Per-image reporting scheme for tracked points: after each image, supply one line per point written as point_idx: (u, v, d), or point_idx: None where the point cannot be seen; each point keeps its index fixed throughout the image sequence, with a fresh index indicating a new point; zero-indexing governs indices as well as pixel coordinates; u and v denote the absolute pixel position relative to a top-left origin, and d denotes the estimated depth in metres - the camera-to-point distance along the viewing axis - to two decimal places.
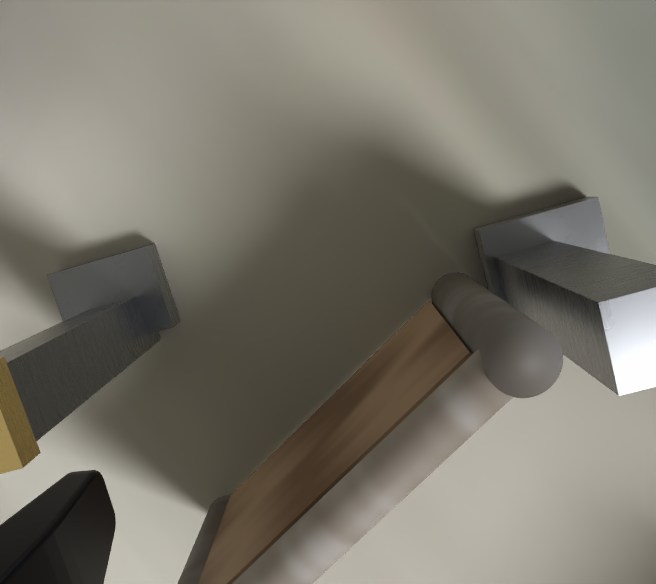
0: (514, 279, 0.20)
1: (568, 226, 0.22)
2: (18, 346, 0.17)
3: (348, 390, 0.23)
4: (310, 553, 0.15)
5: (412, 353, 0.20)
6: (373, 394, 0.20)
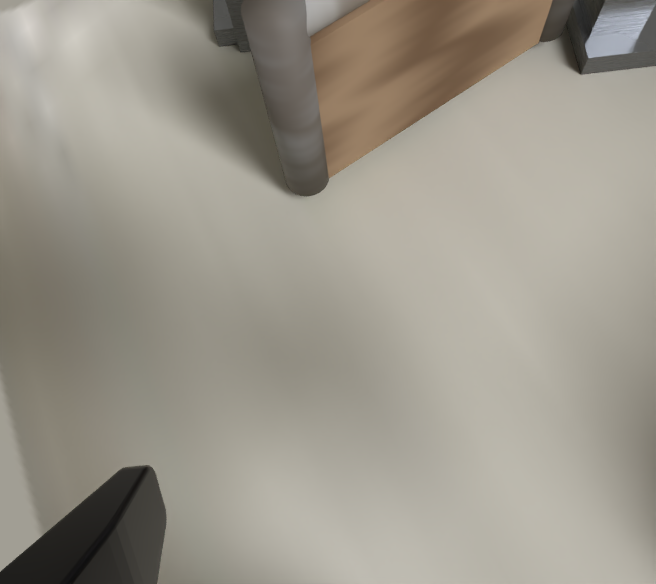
0: None
1: None
2: None
3: None
4: None
5: None
6: None
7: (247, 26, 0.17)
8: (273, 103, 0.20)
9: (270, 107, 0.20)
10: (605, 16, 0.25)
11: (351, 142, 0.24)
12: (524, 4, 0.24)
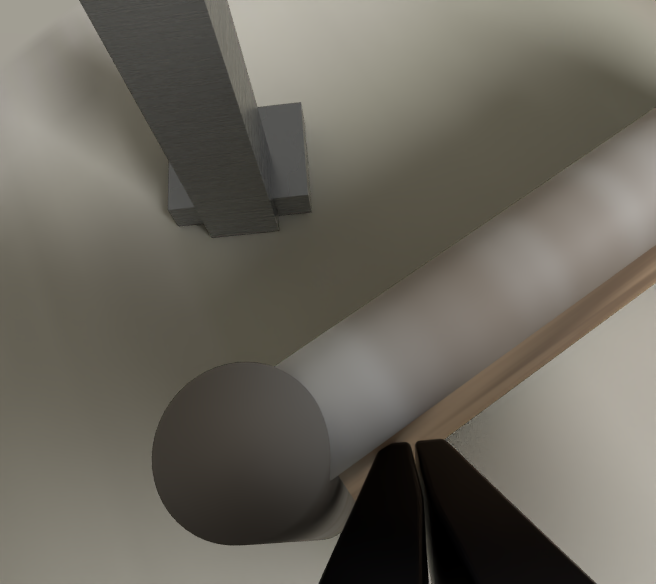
0: None
1: None
2: None
3: None
4: (636, 158, 0.07)
5: None
6: None
7: (168, 507, 0.06)
8: None
9: None
10: None
11: None
12: None
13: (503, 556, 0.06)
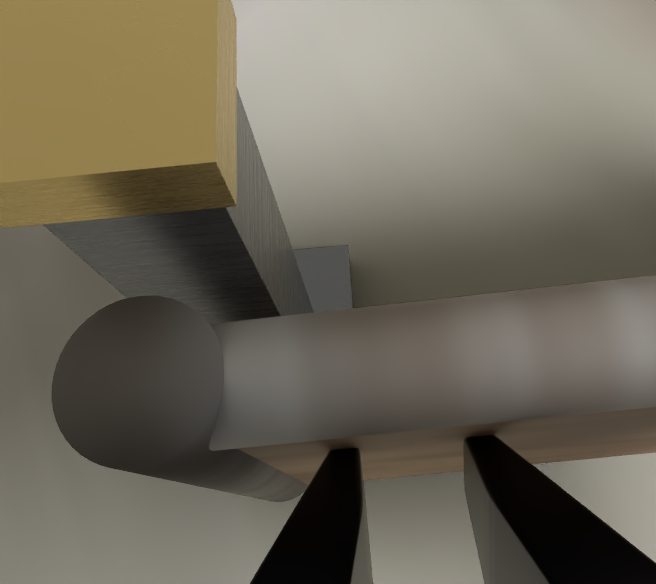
0: None
1: None
2: None
3: None
4: None
5: None
6: None
7: (56, 393, 0.06)
8: None
9: None
10: None
11: None
12: None
13: (575, 550, 0.06)
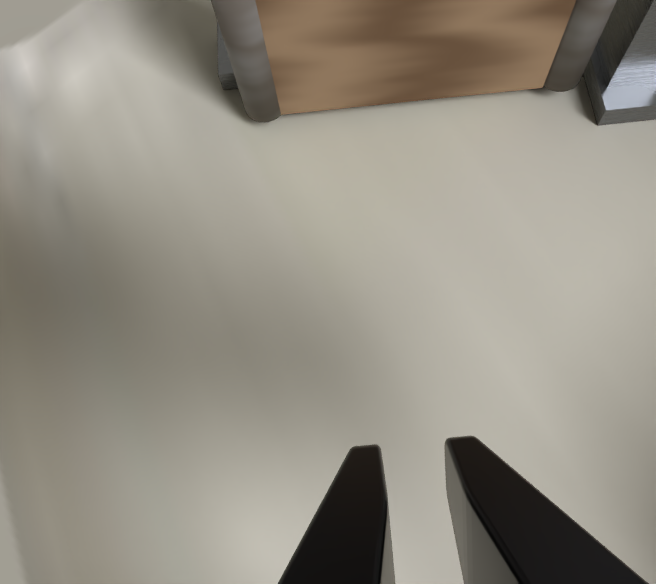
0: (617, 13, 0.24)
1: None
2: None
3: None
4: None
5: None
6: None
7: None
8: (214, 9, 0.21)
9: (215, 13, 0.22)
10: (624, 68, 0.24)
11: (305, 88, 0.25)
12: (518, 36, 0.23)
13: (547, 552, 0.06)
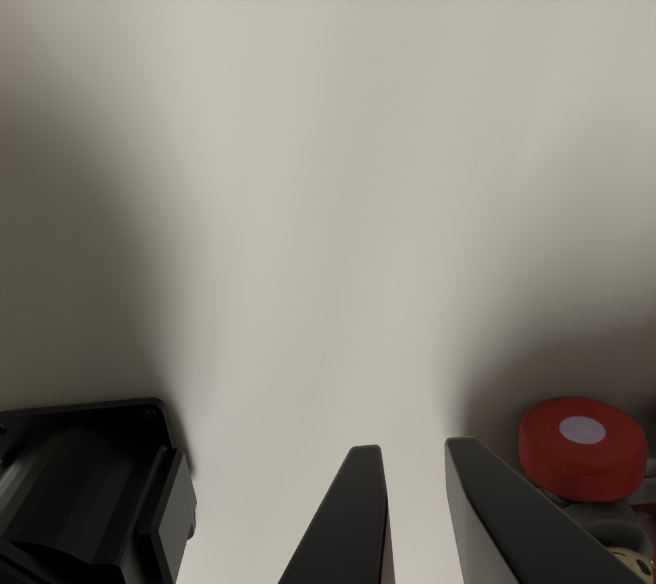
0: None
1: None
2: None
3: None
4: None
5: None
6: None
7: None
8: None
9: None
10: None
11: None
12: None
13: (547, 553, 0.06)
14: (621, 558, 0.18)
